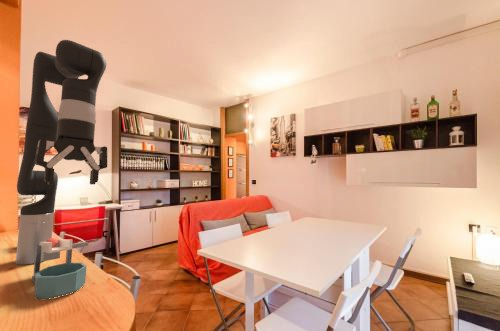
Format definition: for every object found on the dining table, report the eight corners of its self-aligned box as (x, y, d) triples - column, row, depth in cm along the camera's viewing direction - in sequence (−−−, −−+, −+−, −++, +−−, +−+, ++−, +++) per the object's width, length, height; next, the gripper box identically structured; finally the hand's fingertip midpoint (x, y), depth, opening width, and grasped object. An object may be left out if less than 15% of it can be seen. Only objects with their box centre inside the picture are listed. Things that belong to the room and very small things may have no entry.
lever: (38, 261, 71) (39, 242, 72) (74, 254, 78) (74, 237, 79) (48, 264, 62) (49, 242, 63) (88, 256, 69) (88, 236, 70)
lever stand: (31, 280, 67) (34, 244, 67) (67, 271, 73) (70, 239, 74) (34, 285, 64) (37, 248, 64) (71, 276, 70) (74, 242, 71)
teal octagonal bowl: (32, 290, 61) (33, 269, 61) (78, 278, 69) (79, 260, 69) (38, 304, 54) (40, 280, 55) (88, 289, 62) (89, 268, 63)
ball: (44, 248, 72) (44, 238, 72) (56, 246, 74) (56, 236, 75) (45, 249, 70) (46, 239, 70) (58, 247, 72) (58, 237, 73)
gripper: (103, 128, 65) (99, 184, 64) (37, 117, 54) (30, 183, 53) (113, 124, 60) (109, 184, 59) (42, 111, 49) (35, 184, 48)
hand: (72, 184), depth 56 cm, fingers open, 8 cm apart
